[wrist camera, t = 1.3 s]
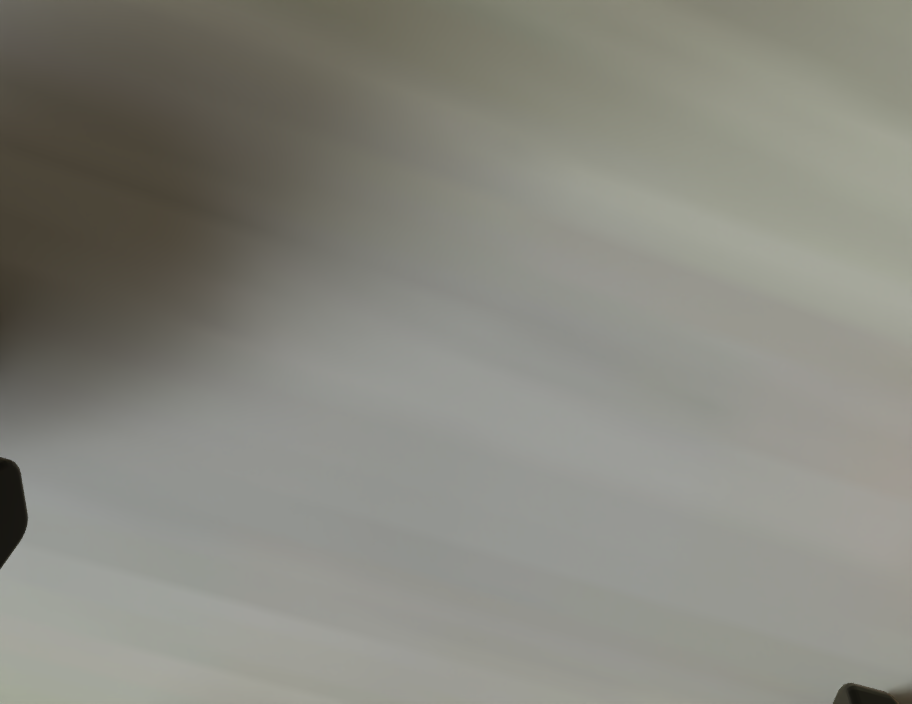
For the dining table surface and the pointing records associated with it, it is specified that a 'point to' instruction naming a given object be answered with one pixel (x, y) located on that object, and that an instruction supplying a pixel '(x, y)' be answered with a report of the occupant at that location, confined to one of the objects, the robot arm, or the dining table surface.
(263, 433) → the dining table surface
